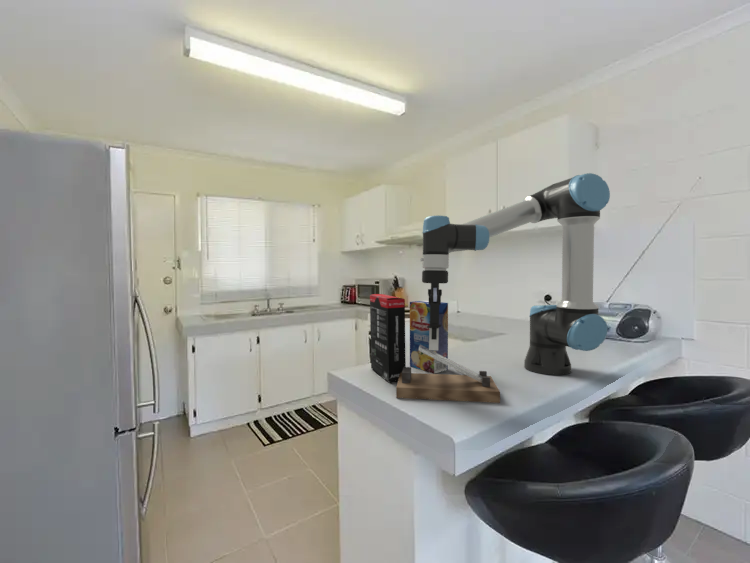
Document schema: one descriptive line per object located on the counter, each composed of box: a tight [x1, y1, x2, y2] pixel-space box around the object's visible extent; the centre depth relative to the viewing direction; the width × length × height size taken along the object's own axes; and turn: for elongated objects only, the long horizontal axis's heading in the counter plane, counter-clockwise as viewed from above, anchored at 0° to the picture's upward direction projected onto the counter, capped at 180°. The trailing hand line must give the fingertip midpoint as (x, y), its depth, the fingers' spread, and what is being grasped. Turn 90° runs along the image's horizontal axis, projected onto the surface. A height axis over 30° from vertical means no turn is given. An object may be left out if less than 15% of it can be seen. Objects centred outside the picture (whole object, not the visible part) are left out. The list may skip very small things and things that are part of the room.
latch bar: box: [419, 345, 483, 383], centre depth 104 cm, size 22×4×1 cm, turn 82°
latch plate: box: [395, 366, 501, 404], centre depth 104 cm, size 28×14×6 cm, turn 82°
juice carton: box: [409, 300, 449, 374], centre depth 128 cm, size 12×8×24 cm, turn 38°
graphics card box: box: [369, 293, 407, 383], centre depth 120 cm, size 17×7×27 cm, turn 21°
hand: (433, 349), depth 104 cm, fingers closed
